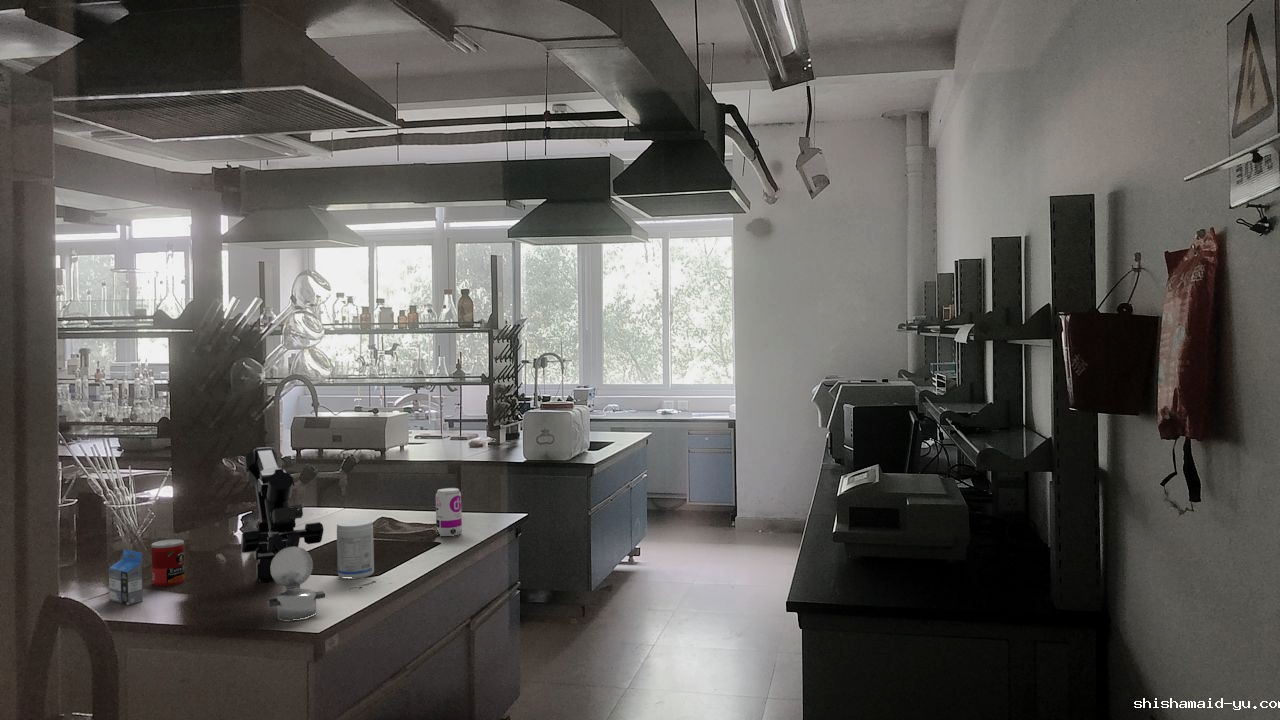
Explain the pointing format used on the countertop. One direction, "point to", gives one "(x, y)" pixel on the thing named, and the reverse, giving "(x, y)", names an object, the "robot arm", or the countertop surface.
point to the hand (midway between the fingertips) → (287, 565)
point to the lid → (291, 567)
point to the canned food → (168, 562)
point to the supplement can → (448, 511)
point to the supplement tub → (355, 548)
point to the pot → (296, 603)
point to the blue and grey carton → (126, 579)
